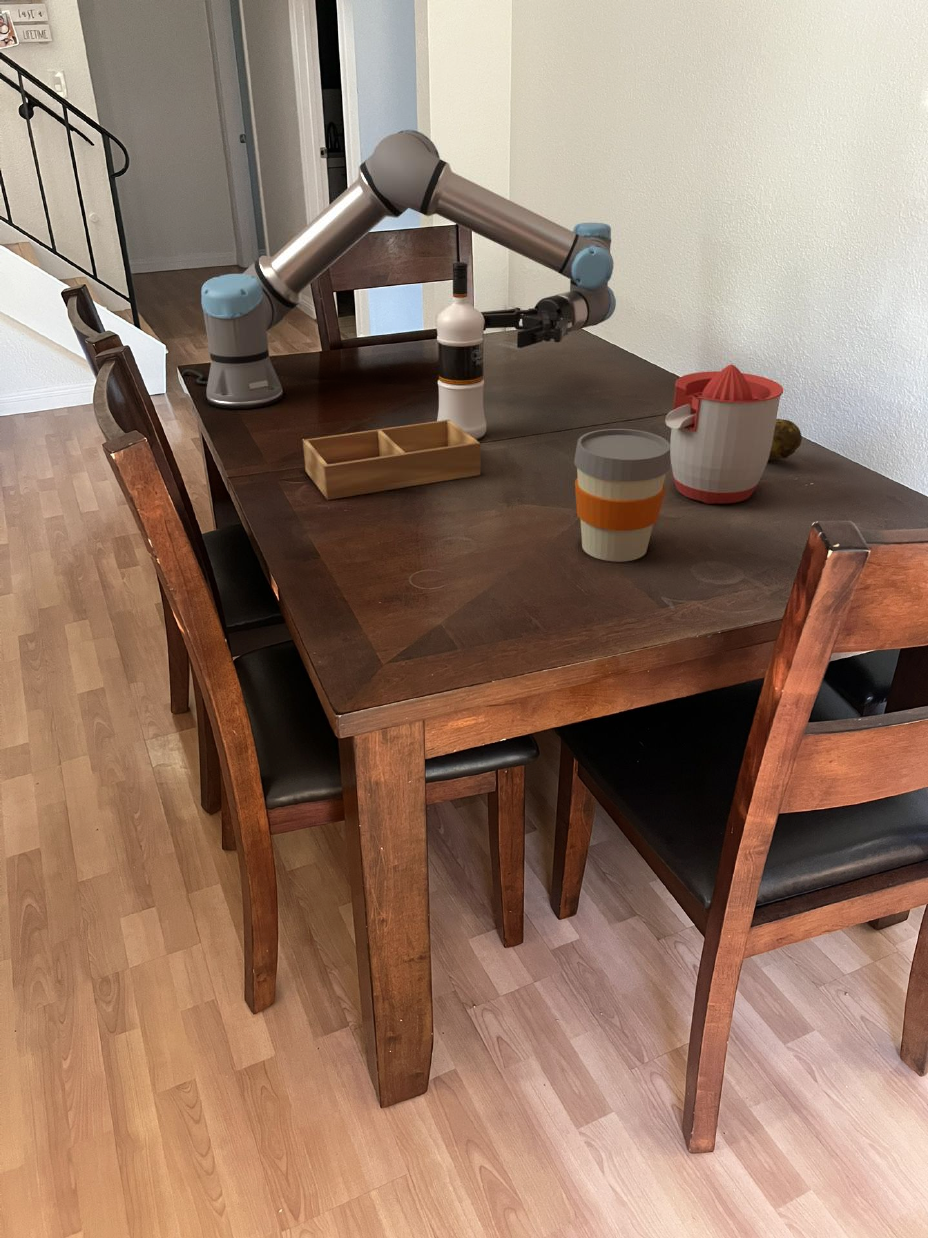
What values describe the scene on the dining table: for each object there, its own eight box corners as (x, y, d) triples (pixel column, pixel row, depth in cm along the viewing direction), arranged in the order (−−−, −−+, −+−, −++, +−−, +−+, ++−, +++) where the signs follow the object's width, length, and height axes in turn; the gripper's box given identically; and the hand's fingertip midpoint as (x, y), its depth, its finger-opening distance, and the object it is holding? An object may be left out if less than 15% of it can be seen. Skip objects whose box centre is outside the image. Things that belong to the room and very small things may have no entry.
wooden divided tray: (305, 471, 150) (302, 439, 147) (449, 449, 159) (449, 419, 156) (327, 500, 139) (324, 466, 137) (480, 474, 148) (480, 443, 145)
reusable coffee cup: (598, 574, 118) (607, 466, 110) (553, 537, 128) (558, 435, 120) (678, 557, 122) (692, 451, 114) (628, 522, 132) (637, 423, 124)
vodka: (436, 426, 170) (433, 257, 154) (485, 426, 170) (487, 257, 154) (435, 443, 162) (431, 267, 146) (487, 443, 162) (488, 266, 146)
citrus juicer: (634, 482, 145) (647, 358, 135) (724, 467, 151) (742, 347, 140) (690, 519, 132) (708, 385, 122) (785, 501, 138) (810, 371, 128)
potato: (765, 445, 160) (773, 401, 156) (803, 471, 149) (813, 425, 145) (722, 449, 158) (729, 404, 154) (757, 475, 147) (765, 428, 143)
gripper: (610, 344, 171) (543, 366, 158) (509, 325, 186) (439, 344, 172) (614, 303, 167) (545, 322, 154) (510, 287, 182) (438, 303, 168)
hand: (489, 334), depth 163 cm, fingers open, 13 cm apart
